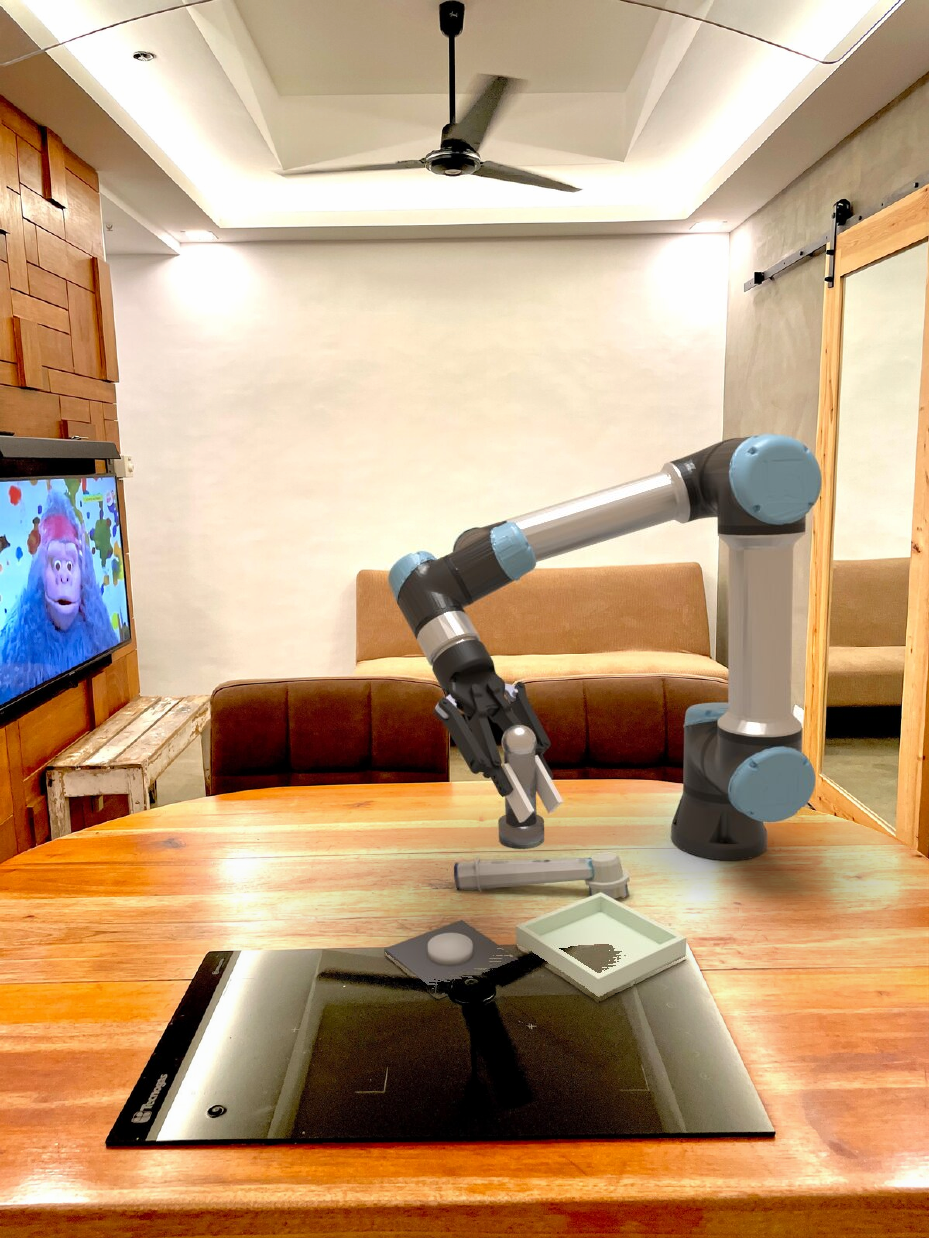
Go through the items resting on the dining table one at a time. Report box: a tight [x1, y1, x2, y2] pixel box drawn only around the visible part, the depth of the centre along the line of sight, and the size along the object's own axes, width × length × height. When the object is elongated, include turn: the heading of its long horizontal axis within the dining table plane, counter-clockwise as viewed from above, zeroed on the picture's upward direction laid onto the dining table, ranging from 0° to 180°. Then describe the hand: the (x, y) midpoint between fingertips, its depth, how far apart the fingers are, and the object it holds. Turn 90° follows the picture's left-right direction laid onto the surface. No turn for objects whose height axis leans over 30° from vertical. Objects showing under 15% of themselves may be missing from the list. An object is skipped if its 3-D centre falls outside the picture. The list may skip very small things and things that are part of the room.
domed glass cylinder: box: [497, 725, 545, 850], centre depth 106 cm, size 6×6×14 cm
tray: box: [515, 892, 687, 997], centre depth 110 cm, size 15×15×3 cm
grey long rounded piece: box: [453, 851, 630, 900], centre depth 127 cm, size 5×7×25 cm
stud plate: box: [384, 919, 519, 989], centre depth 109 cm, size 12×12×2 cm
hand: (541, 811), depth 103 cm, fingers closed on domed glass cylinder, 4 cm apart
